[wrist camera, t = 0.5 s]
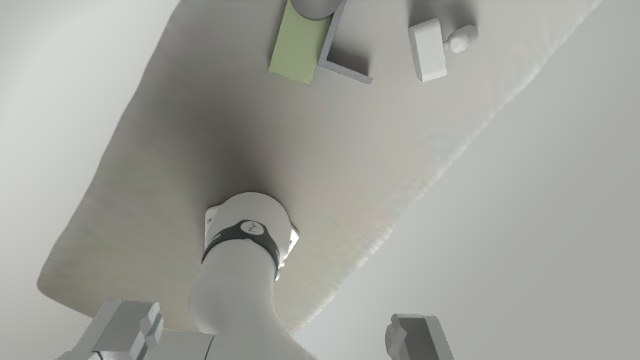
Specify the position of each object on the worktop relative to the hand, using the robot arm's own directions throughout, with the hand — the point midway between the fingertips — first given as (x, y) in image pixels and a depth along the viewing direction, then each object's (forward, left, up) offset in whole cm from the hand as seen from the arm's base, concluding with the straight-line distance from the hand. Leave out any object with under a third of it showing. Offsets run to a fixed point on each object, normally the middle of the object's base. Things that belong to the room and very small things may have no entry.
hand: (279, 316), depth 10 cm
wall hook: (+19, -18, -45) cm, 52 cm away
